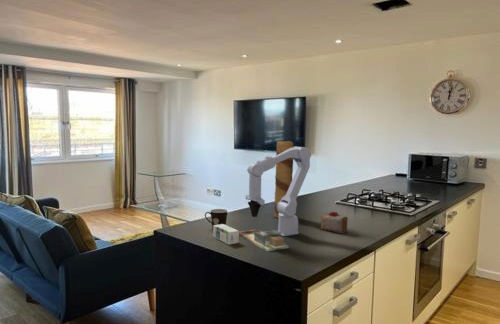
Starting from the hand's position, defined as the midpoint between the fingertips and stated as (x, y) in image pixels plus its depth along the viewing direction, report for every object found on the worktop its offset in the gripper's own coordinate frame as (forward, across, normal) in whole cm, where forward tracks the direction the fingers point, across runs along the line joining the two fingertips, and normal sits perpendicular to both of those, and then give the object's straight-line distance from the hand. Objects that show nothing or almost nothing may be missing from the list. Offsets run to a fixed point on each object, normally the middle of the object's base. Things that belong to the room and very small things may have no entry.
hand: (254, 216), depth 172 cm
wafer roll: (+10, -27, +35) cm, 45 cm away
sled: (+9, +16, 0) cm, 18 cm away
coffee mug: (+10, -19, -11) cm, 24 cm away
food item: (+10, +8, +43) cm, 45 cm away
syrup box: (+7, +6, -14) cm, 17 cm away
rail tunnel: (+10, +7, 0) cm, 12 cm away
